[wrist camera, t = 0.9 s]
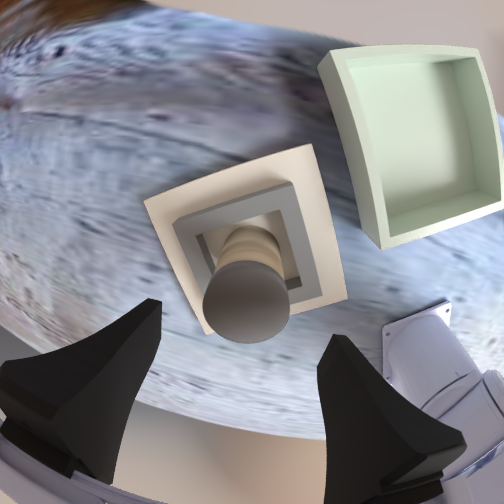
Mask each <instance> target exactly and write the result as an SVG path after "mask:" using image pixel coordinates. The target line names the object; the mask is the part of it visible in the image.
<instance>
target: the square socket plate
mask: <svg viewBox="0 0 504 504" xmlns="http://www.w3.org/2000/svg"><path fill="white" fill-rule="evenodd" d="M144 204H145V206H146V209H147V211H148V214H149V216H150V218H151V221H152V223H153V225H154V228H155V230H156V232H157V235H158V237H159V239H160V241H161V244H162V246H163V248H164V250H165V253H166V255H167V257H168V259H169V261H170V263H171V266H172V268H173V270H174V272H175V274H176V276H177V278H178V280H179V282H180V284H181V286H182V288H183V290H184V292H185V294H186V296H187V298H188V300H189V302H190V304H191V306H192V308H193V310H194V312H195V314H196V316H197V318H198V320H199V322H200V324H201V326H202V327H203V329H204V331H205V333H206V335H207V334H212V333H216V332H215V331H214V330H213V329H212V328H211V327H210V326H209V325H208V323H207V322H206V320H205V317H204V314H203V309H202V302H203V298H204V295H205V292H206V289H207V286H208V283H209V281H210V279H211V277H212V276H213V275H214V272H215V269H216V266H217V263H218V260H219V257H220V254H221V251H222V249H223V246H224V243H225V241H226V239H227V237H228V236H229V235H230V234H231V233H232V232H233V231H234V230H236V229H238V228H240V227H243V226H250V225H251V226H259V227H262V228H264V229H266V230H268V231H269V232H271V233H272V234H273V235H274V237H275V238H276V239H277V241H278V244H279V247H280V253H281V260H282V267H283V274H284V281H285V283H286V286H287V290H288V295H289V302H290V315H293V314H297V313H301V312H304V311H308V310H312V309H315V308H319V307H322V306H326V305H329V304H333V303H336V302H339V301H343V300H346V299H348V296H347V290H346V284H345V279H344V273H343V268H342V263H341V258H340V253H339V248H338V244H337V239H336V235H335V230H334V226H333V221H332V217H331V213H330V209H329V205H328V201H327V197H326V193H325V189H324V185H323V182H322V178H321V174H320V171H319V167H318V164H317V160H316V157H315V153H314V150H313V147H312V144H310V143H308V144H304V145H301V146H297V147H293V148H290V149H286V150H283V151H279V152H276V153H273V154H269V155H266V156H263V157H259V158H256V159H253V160H250V161H247V162H244V163H241V164H238V165H235V166H232V167H229V168H226V169H223V170H220V171H217V172H214V173H212V174H209V175H206V176H203V177H201V178H198V179H195V180H193V181H190V182H187V183H185V184H182V185H180V186H177V187H174V188H172V189H169V190H167V191H164V192H162V193H160V194H157V195H155V196H152V197H150V198H148V199H146V200H145V201H144Z"/></svg>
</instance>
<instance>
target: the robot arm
mask: <svg viewBox="0 0 504 504" xmlns="http://www.w3.org/2000/svg"><path fill="white" fill-rule="evenodd" d="M451 305H452V304H451V302H450V301H446V302H443V303H441V304H439V305H436V306H434V307H432V308H429V309H427V310H424V311H422V312H419V313H417V314H414V315H412V316H409V317H406V318H404V319H401V320H398V321H396V322H393V323H390V324H387V325H385V326H384V327H383V328H382V343H383V377H382V376H381V375H380V374H379V373H378V372H377V370H376V369H375V368H374V367H373V366H372V365H371V364H370V363H369V361H368V360H367V359H366V358H365V357H364V356H363V354H362V353H361V352H360V351H359V350H358V348H357V347H356V346H355V345H354V344H353V343H352V342H351V340H350V339H349V338H348V337H347V336H345V335H337V334H333V335H332V338H331V340H330V342H329V344H328V346H327V348H326V350H325V352H324V354H323V356H322V358H321V360H320V362H319V364H318V366H317V383H318V391H319V397H320V403H321V408H322V414H323V419H324V425H325V432H326V446H327V471H326V487H325V496H324V504H504V441H503V440H504V378H503V376H502V375H501V374H500V373H499V372H498V371H497V370H487V371H486V372H485V373H484V374H482V373H481V372H480V370H479V369H478V367H477V366H476V364H475V363H474V361H473V360H472V359H471V357H470V356H469V354H468V353H467V351H466V350H465V349H464V347H463V346H462V344H461V343H460V342H459V340H458V339H457V338H456V336H455V335H454V334H453V332H452V331H451V330H450V328H449V321H450V314H451ZM161 320H162V301H158V300H154V299H150V298H148V299H146V300H145V301H143V302H142V303H140V304H139V305H137V306H136V307H135V308H133V309H132V310H130V311H129V312H128V313H126V314H125V315H123V316H122V317H120V318H119V319H117V320H116V321H114V322H113V323H111V324H110V325H108V326H106V327H105V328H103V329H101V330H100V331H98V332H96V333H95V334H93V335H91V336H89V337H87V338H85V339H83V340H81V341H78V342H76V343H74V344H71V345H69V346H66V347H63V348H61V349H58V350H55V351H52V352H49V353H45V354H42V355H38V356H33V357H29V358H23V359H16V360H8V361H5V362H4V363H3V364H2V366H1V367H0V408H1V410H2V411H3V412H4V414H5V415H6V416H7V417H6V419H5V421H4V422H3V421H2V420H1V419H0V489H1V490H2V491H3V492H4V493H5V494H7V495H8V496H9V497H10V498H11V499H12V500H14V501H15V502H17V503H18V504H105V503H107V504H166V503H162V502H159V501H155V500H151V499H148V498H144V497H141V496H138V495H135V494H132V493H129V492H126V491H123V490H121V489H118V488H115V487H113V486H110V484H112V483H113V477H114V472H115V467H116V462H117V457H118V453H119V449H120V445H121V441H122V437H123V433H124V430H125V426H126V423H127V420H128V416H129V413H130V410H131V407H132V404H133V402H134V400H135V397H136V395H137V393H138V391H139V389H140V387H141V385H142V383H143V381H144V379H145V376H146V374H147V372H148V370H149V368H150V366H151V364H152V362H153V360H154V358H155V355H156V352H157V349H158V346H159V343H160V340H161ZM387 333H388V334H387ZM390 384H392V385H393V387H394V388H393V387H392V386H391V385H390ZM501 441H503V442H501ZM500 442H501V443H500ZM499 443H500V444H499ZM498 444H499V445H498ZM497 445H498V446H497ZM495 446H497V447H495ZM494 447H495V448H494ZM493 448H494V449H493ZM492 449H493V450H492ZM490 450H492V451H490ZM489 451H490V452H489ZM488 452H489V453H488ZM487 453H488V454H487ZM485 454H486V455H485ZM484 455H485V456H484ZM482 456H484V457H482ZM481 457H482V458H481ZM480 458H481V459H480ZM478 459H480V460H479V461H477V460H478ZM476 461H477V462H476ZM474 462H476V463H474ZM473 463H474V464H473ZM472 464H473V465H472ZM470 465H471V466H470ZM469 466H470V467H469ZM467 467H468V468H467ZM466 468H467V469H466ZM464 469H466V470H464Z"/></svg>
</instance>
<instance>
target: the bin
mask: <svg viewBox="0 0 504 504" xmlns="http://www.w3.org/2000/svg"><path fill="white" fill-rule="evenodd" d="M317 70H318V72H319V75H320V78H321V80H322V83H323V86H324V89H325V91H326V94H327V97H328V100H329V103H330V106H331V109H332V112H333V115H334V119H335V122H336V125H337V128H338V132H339V135H340V139H341V142H342V146H343V149H344V153H345V157H346V161H347V164H348V168H349V172H350V177H351V181H352V185H353V189H354V194H355V198H356V203H357V208H358V213H359V218H360V223H361V228H362V231H363V232H364V233H365V234H366V235H367V236H368V237H369V238H370V239H371V240H372V241H373V242H374V243H375V244H376V245H377V246H378V247H379V249H380V250H381V251H383V250H386V249H389V248H392V247H395V246H398V245H401V244H404V243H407V242H410V241H413V240H416V239H419V238H422V237H425V236H428V235H431V234H434V233H437V232H440V231H443V230H446V229H449V228H451V227H454V226H457V225H460V224H463V223H466V222H468V221H471V220H474V219H477V218H479V217H482V216H485V215H487V214H490V213H493V212H495V211H498V210H501V209H503V208H504V158H503V149H502V142H501V135H500V129H499V124H498V118H497V113H496V109H495V104H494V100H493V96H492V92H491V89H490V85H489V82H488V78H487V75H486V72H485V68H484V66H483V63H482V59H481V57H480V54H479V51H478V49H474V48H466V47H457V46H445V45H428V44H426V45H425V44H396V45H395V44H393V45H374V46H362V47H352V48H344V49H336V50H330V51H329V52H328V53H327V54H326V56H325V57H324V58H323V59H322V61H321V62H320V63H319V64H318V66H317Z"/></svg>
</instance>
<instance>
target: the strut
mask: <svg viewBox="0 0 504 504" xmlns="http://www.w3.org/2000/svg"><path fill="white" fill-rule="evenodd" d="M202 309H203V314H204V317H205V320H206V322H207V323H208V325H209V326H210V327H211V328H212V329H213V330H214V331H215V332H216V333H217V334H218V335H220V336H222V337H223V338H225V339H228V340H230V341H233V342H237V343H246V344H250V343H258V342H262V341H265V340H268V339H270V338H272V337H274V336H275V335H276V334H278V333H279V332H280V331H281V330H282V329H283V328H284V326H285V325H286V323H287V321H288V319H289V315H290V302H289V295H288V290H287V286H286V283H285V281H284V274H283V267H282V260H281V253H280V247H279V244H278V241H277V239H276V238H275V237H274V235H273V234H272V233H271V232H269V231H268V230H266V229H264V228H262V227H259V226H251V225H250V226H243V227H240V228H238V229H236V230H234V231H233V232H232V233H231V234H230V235H229V236H228V237H227V239H226V241H225V243H224V246H223V249H222V251H221V254H220V257H219V260H218V263H217V266H216V269H215V272H214V275H213V276H212V277H211V279H210V281H209V283H208V286H207V289H206V292H205V295H204V298H203V302H202Z"/></svg>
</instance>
